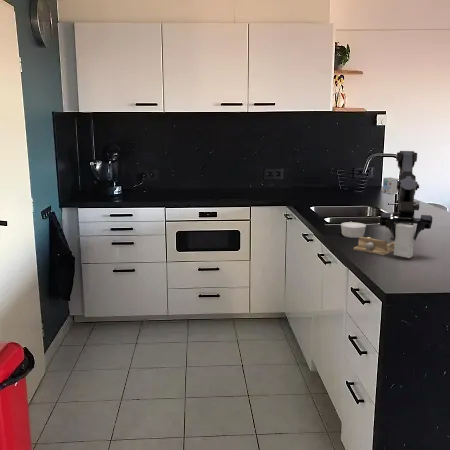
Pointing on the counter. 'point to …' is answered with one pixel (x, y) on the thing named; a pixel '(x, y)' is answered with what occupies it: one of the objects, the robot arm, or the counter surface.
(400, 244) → the skincare box
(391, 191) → the light bulb box
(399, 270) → the counter surface
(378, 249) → the cradle
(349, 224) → the ramekin
